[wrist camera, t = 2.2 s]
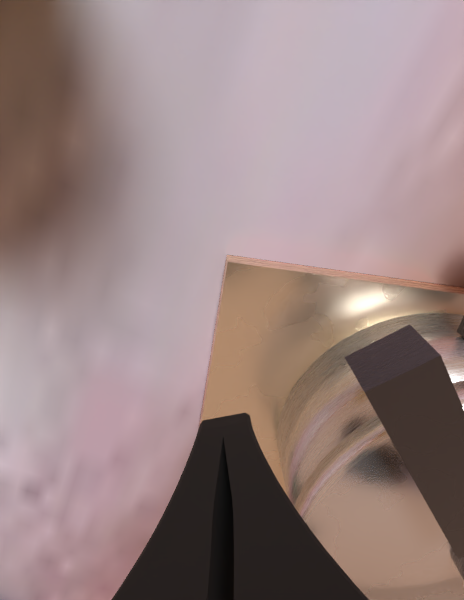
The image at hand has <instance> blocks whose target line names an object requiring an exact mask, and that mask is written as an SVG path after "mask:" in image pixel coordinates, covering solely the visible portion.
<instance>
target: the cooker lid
mask: <svg viewBox="0 0 464 600" xmlns="http://www.w3.org/2000/svg"><path fill="white" fill-rule="evenodd" d="M345 359H346V361H347V363H348V364H349V366H350V368H351V370H352V372H353V373H354V375H355V377H356V379H357V380H358V382H359V384H360V386H361V388H362V389H363V391H364V393H365V395H366V396H367V398H368V400H369V402H370V404H371V405H372V407H373V409H374V411H375V413H376V414H377V416H375V417H374V418H372V419H371V420H369V421H367V422H366V423H364V424H363V425H361V426H360V427H358V428H357V429H356V430H354V431H353V432H352V433H351V434H349V435H348V436H347V437H346V438H345V439H343V440H342V441H341V442H340V443H339V444H337V445H336V446H335V447H334V448H333V449H332V450H331V451H330V452H329V454H328V455H327V456H326V457H325V458H324V459H323V460H322V461H321V462H320V463H319V464H318V466H317V467H316V468H315V470H314V471H313V473H312V474H311V475H310V477H309V478H308V479H307V481H306V483H305V485H304V487H303V488H302V490H301V492H300V494H299V496H298V498H297V501H296V504H295V508H296V510H297V511H298V513H299V514H300V516H301V517H302V518H303V520H304V521H305V523H306V524H307V525H308V527H309V528H310V530H311V531H312V532H313V534H314V535H315V536H316V537H317V539H318V540H319V541H320V543H321V544H322V545H323V547H324V548H325V549H326V550H327V552H328V553H329V554H330V555H331V556H332V558H333V559H334V560H335V561H336V562H337V563H338V565H339V566H340V567H341V568H342V569H343V571H344V572H345V573H346V574H347V575H348V577H349V578H350V579H351V580H352V581H353V582H354V584H355V585H356V586H357V587H358V588H359V589H360V590H361V591H362V592H363V594H364V595H365V596H366V597H367V598H368V599H369V600H464V381H459V382H455V383H452V380H451V378H450V376H449V373H448V371H447V369H446V366H445V364H444V362H443V360H442V357H441V355H440V354H439V353H438V352H437V351H436V350H435V349H434V348H433V347H432V346H431V345H430V344H429V343H428V342H427V341H426V340H425V339H424V338H423V337H422V336H421V335H420V334H419V333H418V332H417V331H416V330H415V329H414V328H413V327H412V326H411V325H410V324H409V325H407V326H405V327H403V328H401V329H399V330H397V331H395V332H393V333H391V334H389V335H387V336H385V337H383V338H381V339H379V340H377V341H375V342H373V343H372V344H370V345H368V346H366V347H364V348H362V349H360V350H358V351H356V352H354V353H352V354H350V355H348V356H346V357H345Z"/></svg>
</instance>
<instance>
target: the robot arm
mask: <svg viewBox="0 0 464 600" xmlns="http://www.w3.org/2000/svg"><path fill="white" fill-rule="evenodd" d="M112 600H369V599H368V598H367V597H366V596H365V595H364V594H363V592H362V591H361V590H360V589H359V588H358V587H357V586H356V585H355V584H354V582H353V581H352V580H351V579H350V578H349V577H348V575H347V574H346V573H345V572H344V571H343V569H342V568H341V567H340V566H339V565H338V563H337V562H336V561H335V560H334V559H333V558H332V556H331V555H330V554H329V553H328V552H327V550H326V549H325V548H324V547H323V545H322V544H321V543H320V541H319V540H318V539H317V537H316V536H315V535H314V534H313V532H312V531H311V530H310V528H309V527H308V525H307V524H306V523H305V521H304V520H303V518H302V517H301V516H300V514H299V513H298V511H297V510H296V508H295V507H294V505H293V504H292V502H291V501H290V499H289V498H288V496H287V495H286V493H285V491H284V490H283V488H282V487H281V485H280V483H279V482H278V480H277V478H276V476H275V475H274V473H273V471H272V469H271V467H270V465H269V464H268V462H267V460H266V458H265V456H264V454H263V452H262V450H261V448H260V446H259V443H258V441H257V439H256V436H255V433H254V431H253V427H252V423H251V418H250V415H249V414H247V413H240V414H235V415H229V416H224V417H218V418H213V419H207V420H203V421H202V422H201V424H200V426H199V430H198V433H197V436H196V439H195V442H194V445H193V448H192V451H191V453H190V456H189V458H188V461H187V464H186V466H185V468H184V471H183V473H182V475H181V478H180V480H179V482H178V485H177V487H176V489H175V491H174V493H173V495H172V497H171V500H170V502H169V504H168V506H167V508H166V510H165V512H164V514H163V516H162V518H161V520H160V522H159V524H158V525H157V527H156V529H155V531H154V533H153V535H152V536H151V538H150V540H149V542H148V543H147V545H146V547H145V548H144V550H143V552H142V554H141V555H140V557H139V559H138V560H137V562H136V563H135V565H134V566H133V568H132V570H131V571H130V573H129V574H128V576H127V577H126V579H125V580H124V582H123V584H122V585H121V587H120V588H119V590H118V591H117V593H116V594H115V596H114V597H113V598H112Z"/></svg>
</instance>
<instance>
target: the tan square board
mask: <svg viewBox="0 0 464 600" xmlns="http://www.w3.org/2000/svg"><path fill="white" fill-rule="evenodd" d="M409 324H410V325H411V326H412V327H413V328H414V329H415V330H416V331H417V332H418V333H419V334H420V335H421V336H422V337H423V338H424V339H425V340H426V341H427V342H428V343H429V344H430V345H431V346H432V347H433V348H434V349H435V350H436V351H437V352H438V353H439V354H440V355H441V357H442V360H443V362H444V364H445V366H446V369H447V371H448V373H449V376H450V378H451V380H452V383H455V382H459V381H464V288H462V287H454V286H447V285H440V284H433V283H426V282H419V281H411V280H404V279H397V278H390V277H383V276H376V275H369V274H361V273H354V272H347V271H340V270H333V269H326V268H318V267H311V266H304V265H297V264H290V263H283V262H276V261H268V260H261V259H254V258H247V257H240V256H233V255H227V257H226V263H225V269H224V275H223V281H222V288H221V294H220V300H219V306H218V312H217V318H216V324H215V331H214V337H213V343H212V349H211V355H210V361H209V368H208V374H207V380H206V386H205V392H204V398H203V404H202V411H201V417H200V423H199V426H200V424H201V422H202V421H203V420H207V419H213V418H218V417H224V416H229V415H235V414H240V413H247V414H249V415H250V418H251V423H252V427H253V431H254V433H255V436H256V439H257V441H258V443H259V446H260V448H261V450H262V452H263V454H264V456H265V458H266V460H267V462H268V464H269V465H270V467H271V469H272V471H273V473H274V475H275V476H276V478H277V480H278V482H279V483H280V485H281V487H282V488H283V490H284V491H285V493H286V495H287V496H288V498H289V499H290V501H291V502H292V504H293V505H294V507H295V504H296V501H297V498H298V496H299V494H300V492H301V490H302V488H303V487H304V485H305V483H306V481H307V479H308V478H309V477H310V475H311V474H312V473H313V471H314V470H315V468H316V467H317V466H318V464H319V463H320V462H321V461H322V460H323V459H324V458H325V457H326V456H327V455H328V454H329V452H330V451H331V450H332V449H333V448H334V447H335V446H336V445H337V444H339V443H340V442H341V441H342V440H343V439H345V438H346V437H347V436H348V435H349V434H351V433H352V432H353V431H354V430H356V429H357V428H358V427H360V426H361V425H363V424H364V423H366V422H367V421H369V420H371V419H372V418H374V417H375V416H377V414H376V413H375V411H374V409H373V407H372V405H371V404H370V402H369V400H368V398H367V396H366V395H365V393H364V391H363V389H362V388H361V386H360V384H359V382H358V380H357V379H356V377H355V375H354V373H353V372H352V370H351V368H350V366H349V364H348V363H347V361H346V359H345V357H346V356H348V355H350V354H352V353H354V352H356V351H358V350H360V349H362V348H364V347H366V346H368V345H370V344H372V343H373V342H375V341H377V340H379V339H381V338H383V337H385V336H387V335H389V334H391V333H393V332H395V331H397V330H399V329H401V328H403V327H405V326H407V325H409ZM198 430H199V429H198Z"/></svg>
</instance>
